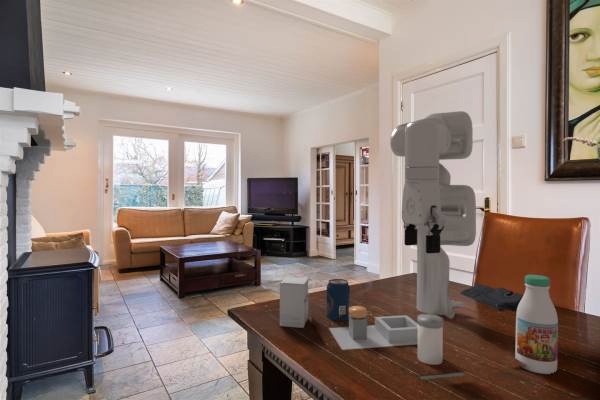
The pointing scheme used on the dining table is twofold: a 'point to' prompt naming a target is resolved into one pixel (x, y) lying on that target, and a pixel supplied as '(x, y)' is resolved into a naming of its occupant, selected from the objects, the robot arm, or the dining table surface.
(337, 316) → the soda can
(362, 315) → the brown egg
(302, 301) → the supplement box
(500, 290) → the dark slate chunk
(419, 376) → the mat
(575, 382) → the dining table surface
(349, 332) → the housing
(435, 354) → the cartridge
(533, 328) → the milk bottle
